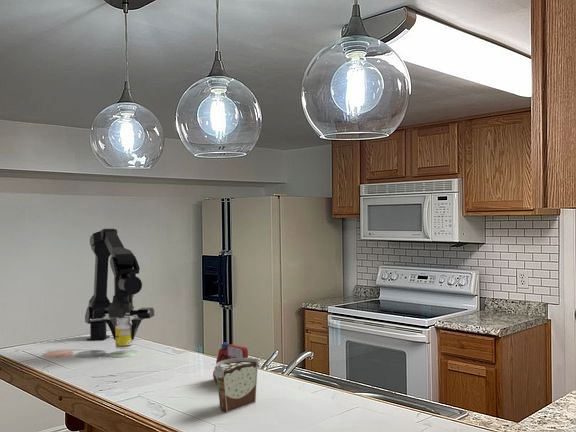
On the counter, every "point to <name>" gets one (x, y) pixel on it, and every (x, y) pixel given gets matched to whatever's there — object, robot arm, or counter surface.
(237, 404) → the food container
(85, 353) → the slate coaster
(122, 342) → the supplement bottle
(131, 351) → the sage coaster
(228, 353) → the toy fire truck
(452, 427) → the counter surface
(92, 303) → the robot arm
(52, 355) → the terracotta coaster
